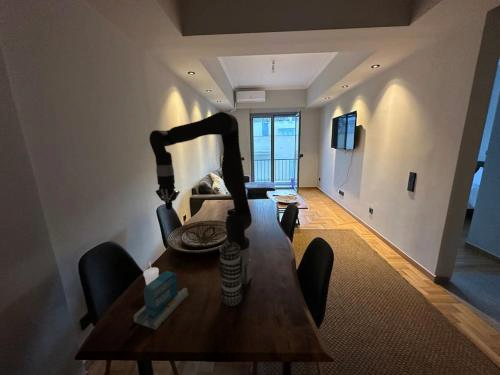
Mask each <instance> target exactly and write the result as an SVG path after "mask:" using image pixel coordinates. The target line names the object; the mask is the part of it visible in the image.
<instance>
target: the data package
mask: <svg viewBox="0 0 500 375" xmlns="http://www.w3.org/2000/svg"><path fill="white" fill-rule="evenodd" d="M177 279H178V278H177V274H176V273H175V272H172V271H168V270H165V271H164V272H162V273H161V274H159V275H158V277H157V278H156V279H154V280H153V281H152V282H150V283H149V284H148V285H145V287H144V289H143V298H144V306H145V305H146V312H147V314H149V315H151V316H154V317H156V316H157V315H158V314H159V313H160V312H161V311H162V310H163V309H164V308H165V307H166V305H167V304H168V303H169V302H170V301H171V300H173V299H174V298H175V297H176V296H177V295H178V291H179V289H178V280H177Z"/></svg>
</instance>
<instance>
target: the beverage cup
mask: <svg viewBox="0 0 500 375" xmlns="http://www.w3.org/2000/svg"><path fill="white" fill-rule="evenodd" d="M148 263H149V268H147V269H146V270H144V271H143V274H142V275H143V277H144V280H145V286H147V285H148V284H149V283H150V282H152V281H153V280H154V279H156V278H157V277H158V276H159V268H158V267H152V264H151V260H149V261H148Z"/></svg>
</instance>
